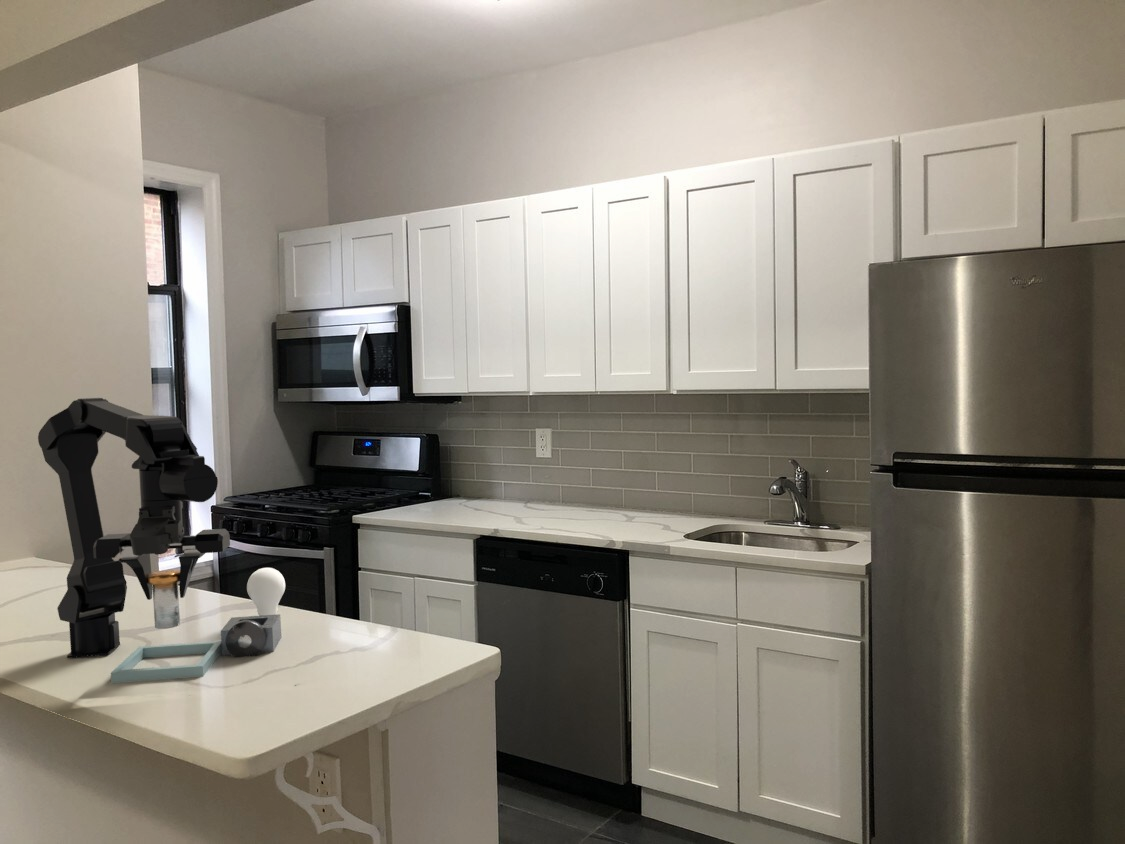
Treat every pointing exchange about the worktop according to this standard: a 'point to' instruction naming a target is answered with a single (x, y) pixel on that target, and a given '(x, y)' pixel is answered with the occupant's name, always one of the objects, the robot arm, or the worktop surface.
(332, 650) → the worktop surface
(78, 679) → the worktop surface
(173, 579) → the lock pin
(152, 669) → the tray
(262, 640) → the block
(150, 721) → the worktop surface
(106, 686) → the worktop surface
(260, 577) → the light bulb
